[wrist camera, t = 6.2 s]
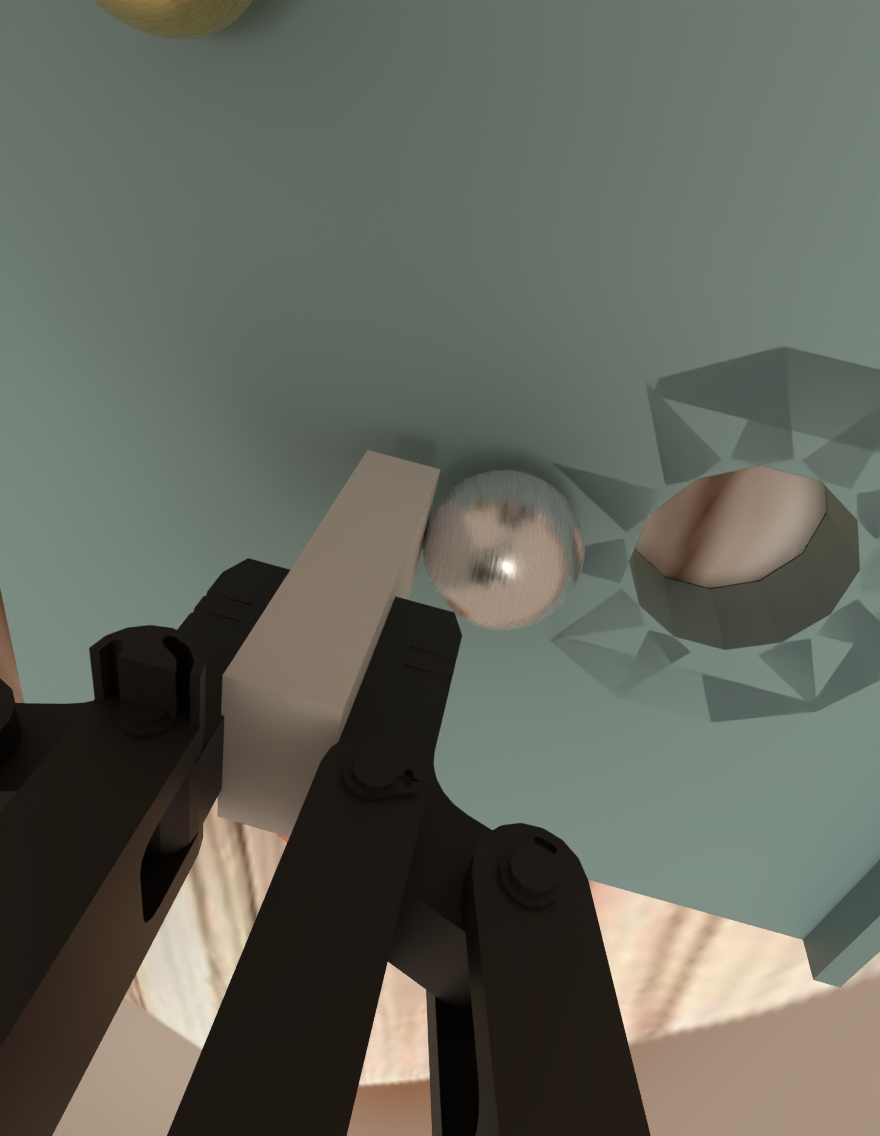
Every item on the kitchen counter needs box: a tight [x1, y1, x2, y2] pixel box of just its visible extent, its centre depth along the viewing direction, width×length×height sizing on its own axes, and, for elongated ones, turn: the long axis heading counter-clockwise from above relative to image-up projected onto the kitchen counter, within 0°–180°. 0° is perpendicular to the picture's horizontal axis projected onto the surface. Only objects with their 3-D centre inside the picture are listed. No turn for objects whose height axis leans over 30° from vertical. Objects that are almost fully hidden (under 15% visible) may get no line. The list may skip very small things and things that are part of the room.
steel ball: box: [423, 470, 585, 631], centre depth 14 cm, size 3×3×3 cm
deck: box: [0, 0, 880, 987], centre depth 16 cm, size 24×26×4 cm
